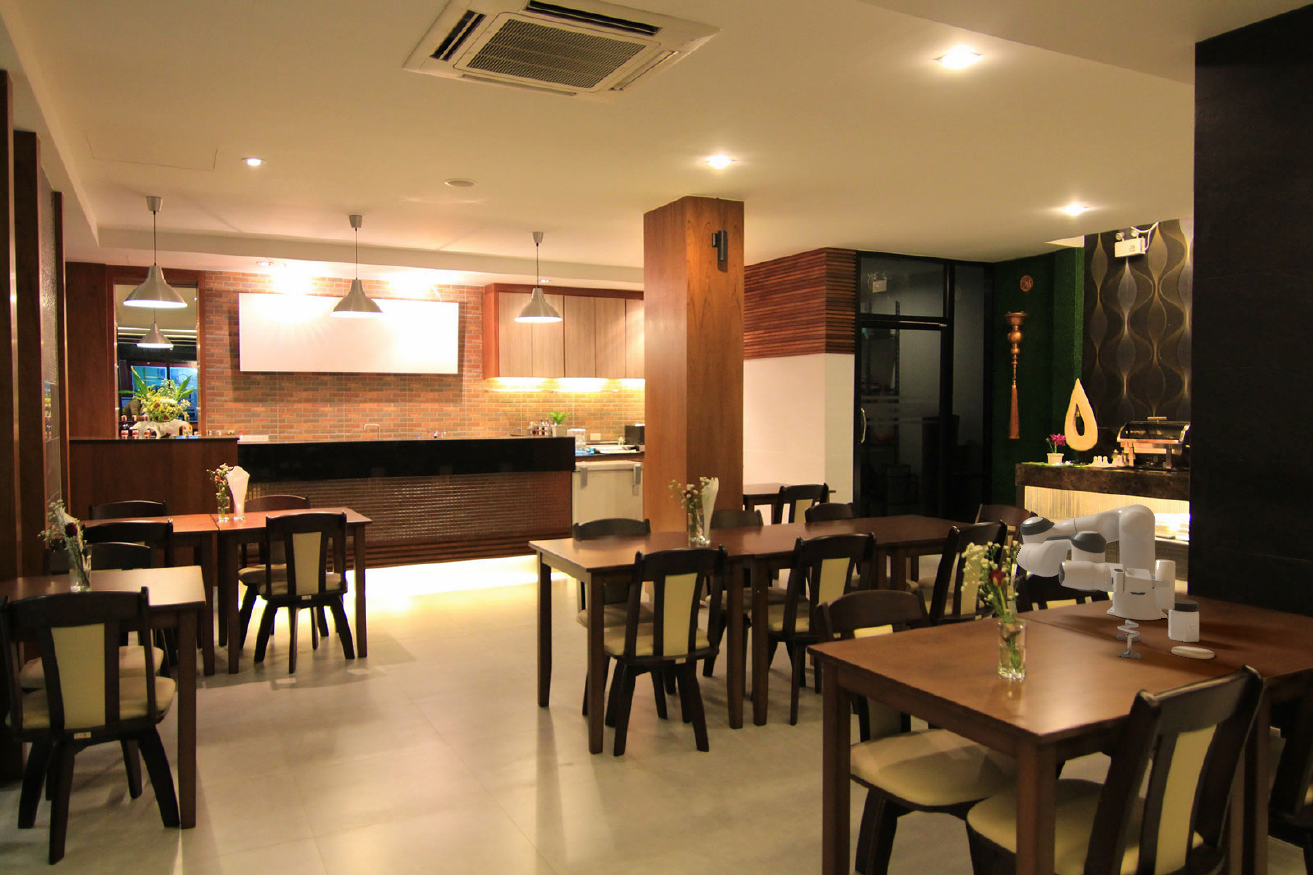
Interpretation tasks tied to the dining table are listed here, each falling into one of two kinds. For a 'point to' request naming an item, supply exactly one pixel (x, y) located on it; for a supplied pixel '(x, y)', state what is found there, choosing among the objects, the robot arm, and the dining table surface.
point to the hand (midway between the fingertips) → (1168, 582)
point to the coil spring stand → (1129, 639)
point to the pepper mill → (1165, 594)
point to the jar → (1184, 621)
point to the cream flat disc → (1192, 652)
